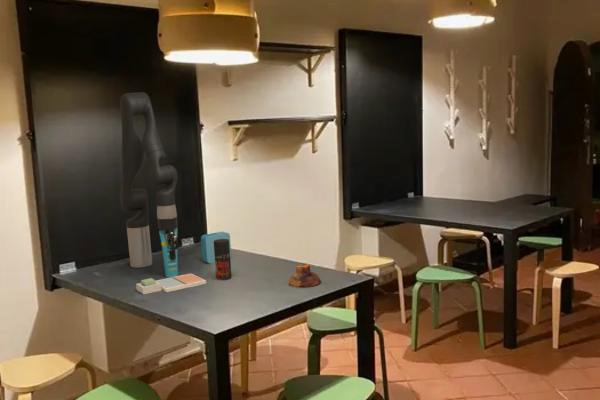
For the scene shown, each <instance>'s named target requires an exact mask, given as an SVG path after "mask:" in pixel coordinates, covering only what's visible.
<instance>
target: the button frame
mask: <svg viewBox="0 0 600 400" xmlns="http://www.w3.org/2000/svg"><path fill="white" fill-rule="evenodd" d="M155 282H156V284H154V285H150V286H143V285H141V282H139V283H136V284H135V286H136V288H135V289H136V291H137V292H139V293H140V294H142V295H147V294H151V293H152V294H153V293H156V292H161V291H163V290H162V289H161V284H160V283H158V282H157V280H155Z"/></svg>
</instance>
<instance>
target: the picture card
mask: <svg viewBox="0 0 600 400" xmlns="http://www.w3.org/2000/svg"><path fill="white" fill-rule="evenodd" d="M156 281H157V282H158V283H160V284H161V289H162V291H163V292H166V293H169V292H174V291H178V290H182V289H188V288H192V287H197V286H202V285H205V284H207V280H206V279H204V278H202V277H200V276H197V275H196V274H193V273H187V274H182V275H178V276H176V277H165V278H163V279H158V280H156Z"/></svg>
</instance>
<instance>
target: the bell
mask: <svg viewBox="0 0 600 400" xmlns="http://www.w3.org/2000/svg"><path fill="white" fill-rule="evenodd" d="M321 282H322V281H321V278H320V277H319V275H318V274H317V273H316V272H313V271H311V265H310V264H308V263H303V264H302V265H297V266H296V267H295V273H294V274H292V275H291V276H290V277H289V279H288V283H289V285H290V286H291V287H293V288H301V289H302V288H313V287H316V286H318V285H320V283H321Z"/></svg>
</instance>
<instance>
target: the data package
mask: <svg viewBox="0 0 600 400" xmlns="http://www.w3.org/2000/svg"><path fill="white" fill-rule="evenodd" d="M217 239H228V240H229V248H230V259H231V258H232V247H231V246H232V245H231V234H230V233H229V232H226V231H217V232H212V233H211V232H210V233H206V234H203V235H201V237H200V243H201V258H202V261H203V262H204V263H206V264H215V254H214V240H217Z"/></svg>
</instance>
